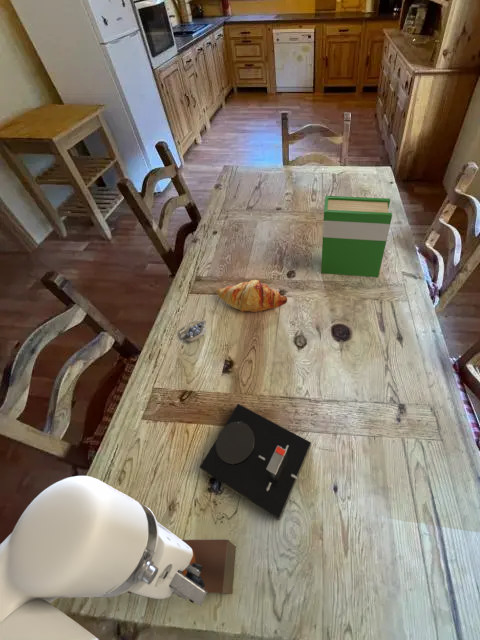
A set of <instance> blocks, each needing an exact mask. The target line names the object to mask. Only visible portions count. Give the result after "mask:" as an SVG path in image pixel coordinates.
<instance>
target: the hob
mask: <svg viewBox="0 0 480 640" xmlns="http://www.w3.org/2000/svg"><path fill="white" fill-rule="evenodd" d="M232 422H242V423H245V424H247V425H248V426H249V427H250V428H251V429H252V431H253V434H254V438H255V444H254V448H253V451H252V453H251V455H250V456H249V457H248V458H247V459H246V460H245V461H243V462H241V463H239V464H227V463H225V462H224V461H222V460H221V459H220V457H219V456H218V454H217V451H216V440H217V438H216V439H215V441H214V443H213V444H212V445H211V447H210V449H209V451H208V452H207V454H206V455H205V458H204V459H203V461H202V462H201V464H200V465H199V469H200V470H201V471H202V472H203V473H204V474H206V475H208V476H209V477H211V478H213V479H214V480H216V481H217V482H219V483H220V484H222V485H223V486H225V487H226V488H228V489H230V490H231V491H232V492H234V493H236V494H237V495H238V496H241V497H242V498H244V499H245V500H247V501H248V502H250V503H251V504H253V505H255V506H256V507H258V508H260V510H263V511H264V512H265V513H267V514H268V515H270V516H271V517H273V518H275V519H276V520H278V521H281V519H282V517H283V514H284V512H285V510H286V507H287V505H288V502H289V500H290V498H291V495H292V493H293V491H294V488H295V485H296V483H297V481H298V479H299V477H300V474H301V471H302V468H303V467H304V465H305V462H306V460H307V457H308V455H309V452H310V449H311V447H312V442H311V441H309V440H308V439H306V438H303V437H302V436H300V435H298V434H296V433H294V432H292V431H290V430H289V429H287V428H285V427H283V426H281V425H279V424H277V423H276V422H273V421H271V420H270V419H268V418H266V417H264V416H262V415H260V414H259V413H256V412H254V411H252V410H251V409H249V408H247V407H245V406H243V405H241V404H240V403H237V404H236V405H235V407H234V409H233V411H232V413H231V414H230V416H229V417H228V418H227V421H226V423H225V424H224V426H223V427H222V429H223V428H224V427H225V426H226V425H228V424H230V423H232ZM277 446H280V447H281V448H283V449H285V450H287V458H288V459H287V461H286V463H285V465H284V467H283V470H282V472H281V474H280V476H279V478H278V481H275V480H273V479H272V478H270V477H268V474H267V471H266V468H267V466H268V464H269V462H270V460H271V458H272V456H273V454H274V452H275V450H276V447H277Z"/></svg>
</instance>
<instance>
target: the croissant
mask: <svg viewBox="0 0 480 640" xmlns="http://www.w3.org/2000/svg"><path fill="white" fill-rule="evenodd" d="M216 295H217V296H218V297H219V298H220V299H221V300H222V301H223V302H225V304H227V305H228V306H230V307H231V308H234V309H237V310H240V312H242V313H243V312H254V313H256V312H262V311H265V310H271V309H275V308H276V309H277V308H279V307H281V306H283V305H285V304H286V303H287V302H288V297H287V296H286V295H282V294H280V292H279V291H278V290H274V289H273V288H270V287H269V285H268V284H265V283H262V282H260V281H259V280H258V279H251V280H250V281H243V282H240V283H238V284H237V285H228V286H226V287H224V288H218V289H217V290H216Z"/></svg>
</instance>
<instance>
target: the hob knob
mask: <svg viewBox="0 0 480 640" xmlns="http://www.w3.org/2000/svg"><path fill="white" fill-rule="evenodd" d="M287 459H288V458H287V450H285V449H283V448H281V447H280V446H277V447H276V450H275V452H274V454H273V456H272V458H271V460H270V462H269V464H268V466H267V468H266V471H267V474H268V477H270V478H272V479H273V480H275V481H278V478H279V476H280V474H281V472H282V470H283V467H284V465H285V463H286V461H287Z"/></svg>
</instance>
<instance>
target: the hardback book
mask: <svg viewBox="0 0 480 640" xmlns="http://www.w3.org/2000/svg"><path fill="white" fill-rule="evenodd" d="M390 203H391V198H389V197H388V198H387V197H386V198H385V197H364V196H363V197H362V196H344V195H343V196H341V195H325V197H324V207H323V224H322V241H321V242H322V243H321V265H320V274H327V275H342V276H356V277H367V278H368V277H371V278H379V276H380V272H381V267H382V262H383V260H384V255H385V249H386V245H387V241H388V236H389V231H390V228H391V224H392V223H391V222H392V219H393V212H389V209H390Z"/></svg>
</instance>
